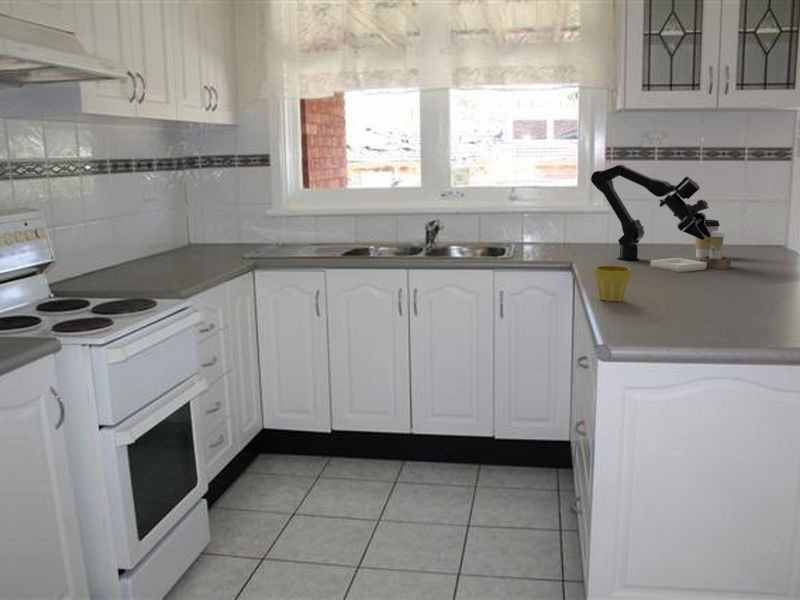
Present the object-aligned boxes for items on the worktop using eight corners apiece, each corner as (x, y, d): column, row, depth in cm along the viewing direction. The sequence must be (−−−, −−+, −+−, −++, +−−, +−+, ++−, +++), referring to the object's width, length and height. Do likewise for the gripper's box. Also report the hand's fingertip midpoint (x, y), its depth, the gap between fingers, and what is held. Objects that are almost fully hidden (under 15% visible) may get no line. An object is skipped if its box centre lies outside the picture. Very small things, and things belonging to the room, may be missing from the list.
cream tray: (650, 266, 293) (650, 260, 293) (677, 264, 300) (677, 257, 299) (678, 272, 281) (679, 265, 281) (706, 269, 288) (706, 262, 287)
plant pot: (631, 303, 228) (632, 270, 226) (594, 302, 229) (596, 270, 227) (627, 296, 237) (628, 265, 236) (592, 296, 239) (594, 264, 237)
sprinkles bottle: (706, 267, 292) (709, 231, 290) (710, 265, 296) (713, 230, 293) (719, 268, 289) (722, 232, 287) (723, 266, 293) (726, 231, 290)
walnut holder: (699, 267, 292) (700, 258, 291) (705, 264, 299) (706, 255, 298) (724, 269, 286) (725, 260, 286) (730, 266, 294) (731, 257, 293)
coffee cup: (719, 259, 312) (722, 221, 309) (693, 258, 314) (696, 221, 311) (714, 255, 321) (717, 219, 318) (689, 255, 323) (692, 219, 320)
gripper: (688, 194, 285) (717, 225, 281) (701, 191, 300) (730, 221, 296) (665, 214, 291) (693, 246, 287) (679, 211, 306) (707, 240, 302)
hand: (707, 237), depth 293 cm, fingers open, 9 cm apart
